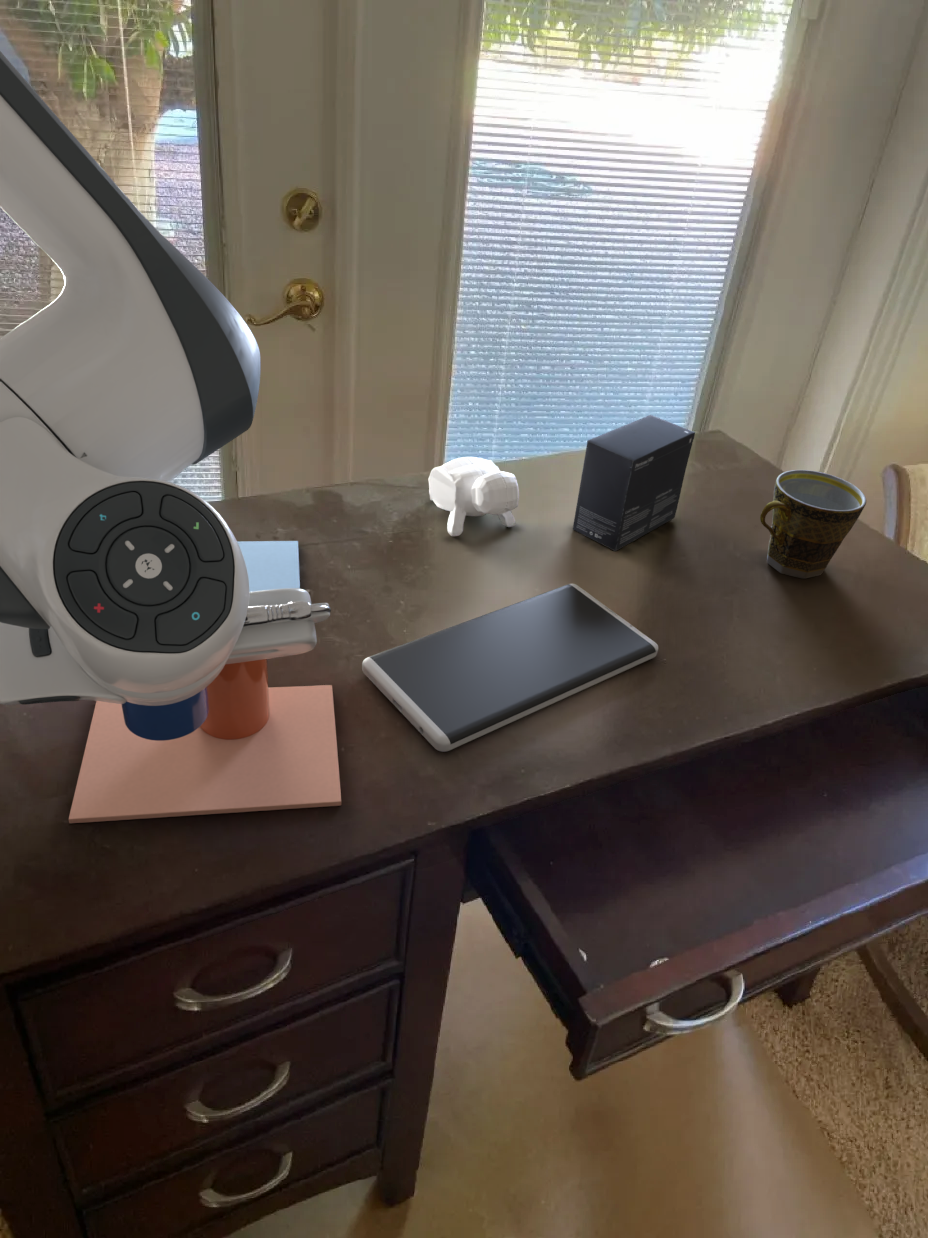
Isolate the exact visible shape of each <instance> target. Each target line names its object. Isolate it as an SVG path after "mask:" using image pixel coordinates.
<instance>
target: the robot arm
mask: <svg viewBox="0 0 928 1238" xmlns="http://www.w3.org/2000/svg"><path fill="white" fill-rule="evenodd" d="M0 209H2V211H4V212H5V214H7V216H8V217H9V218H10V219H11V220H12V221H13V222H14V223H15V224H16V225H17V226H18V227H19V228H20V229H21V230H22V231H23V232H24V233H25V234H26V235H27V236H28V237H29V238H30V239H31V240H32V241H33V243H35V244H36V246H37V247H39V248H40V249H41V250H42V252H44V253H45V254H46V255H47V256H48V258H50V259H51V260H52V262H54V264H55V265H56V266H57V268H59V270H60V272H61V273H62V276H63V281H64V283H63V284H64V286H63V287H62V290H61V292H60V294H59V295H58V296H57V297H56V298H55V299H54V300H53V301H52V302H51V303H49V304H48V305H46V306H45V307H44V308H42V309H41V310H39V311H38V312H37V313H35V314H33V315H32V316H30V317H29V318H28V319H26V320H25V321H23V322H21V323H20V324H19V325H17V326H16V327H14V328H13V329H12V330H10V331H9V332H7V333H6V334H4V335H2V336H1V337H0V705H4V706H13V705H14V706H15V705H33V704H34V705H35V704H45V703H57V702H78V701H93V702H96V701H102V702H109V703H116V704H124V703H126V701H127V702H130V703H134V704H138V705H146V706H160V705H168V704H173V703H177V702H180V701H183V700H185V699H188V698H190V697H192V696H194V695H196V694H197V693H199V692H200V691H202V690H203V689H205V688H206V687H207V686H208V685H209V684H210V683H211V682H213V681H214V679H215V678H216V677H217V676H218V675H219V673H220V672H221V671H222V669H223V667H224V666H225V664H233V663H240V662H247V661H255V660H262V659H267V660H268V659H275V658H276V659H277V658H285V657H291V656H296V655H297V656H298V655H302V654H306V653H309V652H312V651H313V650H314V649H315V648H316V646H317V642H318V638H317V631H316V624H318V623H322V622H325V621H327V620H328V619H329V618H330V616H331V613H332V609H331V607H330V604H329V603H328V602H317V603H312V599H311V595H310V592H309V591H307V590H306V589H305V588H301V587H300V588H284V589H273V590H264V591H255V592H250V590H249V577H248V572H247V567H246V563H245V560H244V557H243V554H242V551H241V549H240V547H239V544H238V542H239V541H238V540H237V539H236V536H235V535H234V533H233V531H232V529H231V528H230V527H229V525H228V523H227V522H226V520H225V519H224V518H223V517H222V515H221V514H220V513H219V512H218V511H217V510H216V509H215V508H214V507H213V506H212V505H211V504H210V502H208V501H207V500H205V499H204V498H202V497H201V496H200V495H198V494H197V493H195V492H193V491H191V490H190V489H188V488H186V487H184V486H182V485H180V484H176V483H173V482H172V481H173V480H174V479H175V478H177V477H178V476H179V475H180V474H182V473H183V472H184V471H185V470H186V469H188V468H189V467H190V466H192V465H196V464H199V463H200V462H201V461H203V460H204V459H207V458H208V457H209V456H211V455H212V454H214V453H215V452H217V451H219V449H221V448H223V447H224V446H226V445H227V444H229V443H230V442H233V440H235V439H237V438H238V437H240V436H241V435H243V434H245V432H247V431H248V430H250V428H251V427H252V424H253V422H254V417H255V413H256V409H257V404H258V399H259V392H260V384H261V370H262V369H261V368H262V367H261V366H262V365H261V351H260V348H259V345H258V342H257V340H256V338H255V336H254V334H253V332H252V330H251V329H250V327H249V326H248V324H247V323H246V321H245V320H244V318H243V317H242V315H240V313H239V312H238V311H237V310H236V308H235V307H234V305H233V304H232V303H231V302H230V301H229V299H228V298H227V297H226V296H225V295H224V294H223V293H222V292H221V291H220V290H219V288H218V287H216V286H215V284H214V283H213V282H212V281H211V280H210V279H208V278H207V276H206V275H204V274H203V272H202V271H200V269H199V268H198V267H197V266H195V265H194V264H193V263H192V262H191V261H190V259H188V258H187V257H186V256H185V255H184V254H183V253H182V252H181V251H180V250H179V249H178V248H177V247H175V245H173V243H171V242H170V240H169V239H168V238H166V237H165V236H164V234H163V233H161V232H160V231H159V230H158V229H157V228H156V226H154V225H153V224H152V223H151V222H150V221H149V219H148V218H147V217H146V216H145V215H144V214H143V212H141V211H140V210H139V208H138V207H137V206H136V205H135V203H133V202H132V200H131V199H130V198H129V197H128V196H127V194H125V192H124V191H123V190H122V189H121V188H120V186H119V185H118V184H117V183H116V182H115V181H114V179H112V178H111V176H110V175H109V174H108V173H107V172H106V171H105V169H104V168H103V167H102V166H101V164H100V163H98V162H97V161H96V159H95V158H94V157H93V156H92V154H91V153H89V152H88V150H87V149H86V147H84V146H83V144H82V143H81V142H80V141H79V140H78V138H77V137H75V135H74V134H73V133H72V132H71V130H69V128H68V127H67V126H66V124H64V123H63V121H62V120H61V119H60V118H59V117H58V115H57V114H56V113H55V112H54V111H53V110H52V109H51V108H50V106H48V104H47V103H46V102H45V101H44V99H42V97H41V96H40V95H39V94H38V93H37V92H36V90H35V89H34V88H33V87H32V86H31V84H30V83H28V81H27V80H26V79H25V78H24V76H22V74H21V73H20V71H19V70H17V69H16V67H15V66H14V65H13V64H12V63H11V61H10V60H9V59H8V58H7V57H6V55H4V53H3V52H2V51H1V50H0Z"/></svg>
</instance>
